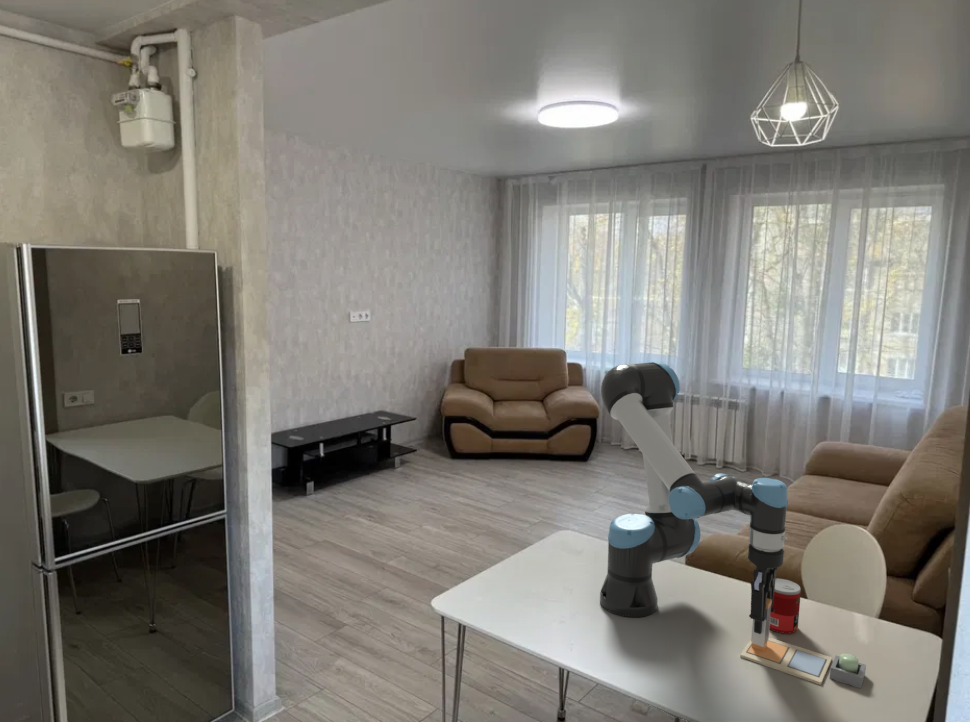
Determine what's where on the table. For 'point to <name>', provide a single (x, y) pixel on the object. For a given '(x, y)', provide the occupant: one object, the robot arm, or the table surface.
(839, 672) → the button collar
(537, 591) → the table surface
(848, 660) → the button
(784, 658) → the sheet
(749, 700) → the table surface
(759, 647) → the marker
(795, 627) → the canned food
